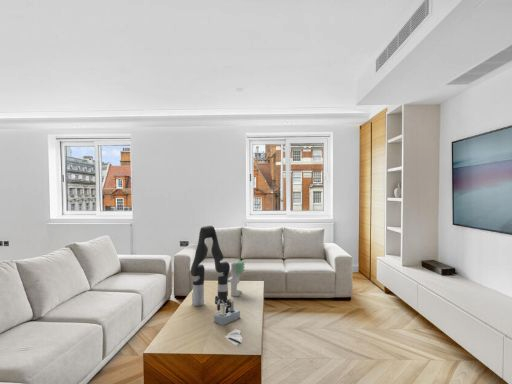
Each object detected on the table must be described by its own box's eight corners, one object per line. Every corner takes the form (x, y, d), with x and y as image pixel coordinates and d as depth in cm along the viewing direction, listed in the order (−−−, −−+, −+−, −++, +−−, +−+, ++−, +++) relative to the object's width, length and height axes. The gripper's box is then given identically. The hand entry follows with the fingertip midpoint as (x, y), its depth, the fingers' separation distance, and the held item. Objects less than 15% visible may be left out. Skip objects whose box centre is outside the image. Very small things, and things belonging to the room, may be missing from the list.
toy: (238, 300, 280) (238, 265, 280) (227, 299, 282) (227, 265, 282) (247, 289, 309) (247, 258, 309) (237, 289, 311) (237, 258, 311)
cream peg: (219, 321, 233) (219, 305, 233) (222, 320, 236) (222, 304, 236) (222, 322, 231) (222, 306, 231) (225, 321, 234) (225, 305, 234)
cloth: (228, 329, 222) (228, 325, 222) (248, 330, 221) (248, 326, 221) (220, 347, 196) (220, 343, 196) (242, 348, 195) (242, 344, 195)
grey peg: (228, 317, 240) (228, 302, 240) (231, 316, 243) (231, 300, 243) (231, 319, 238) (231, 302, 238) (234, 317, 241) (234, 301, 241)
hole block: (214, 321, 233) (214, 315, 233) (231, 314, 247) (231, 308, 247) (222, 325, 227) (222, 318, 227) (240, 317, 241) (239, 310, 241)
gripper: (212, 289, 235) (212, 311, 235) (225, 292, 226) (226, 315, 226) (219, 286, 241) (219, 308, 241) (233, 290, 232) (233, 312, 232)
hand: (222, 311), depth 234 cm, fingers open, 8 cm apart
